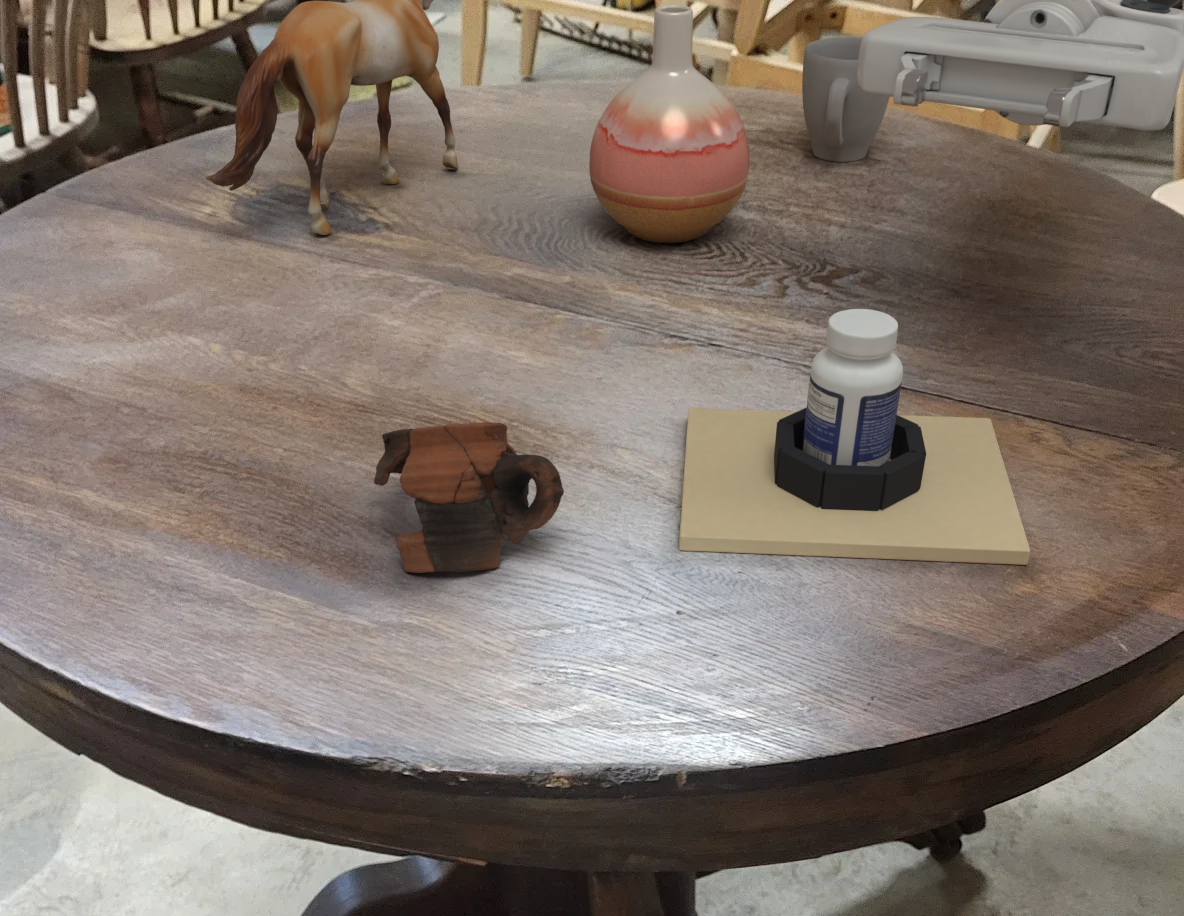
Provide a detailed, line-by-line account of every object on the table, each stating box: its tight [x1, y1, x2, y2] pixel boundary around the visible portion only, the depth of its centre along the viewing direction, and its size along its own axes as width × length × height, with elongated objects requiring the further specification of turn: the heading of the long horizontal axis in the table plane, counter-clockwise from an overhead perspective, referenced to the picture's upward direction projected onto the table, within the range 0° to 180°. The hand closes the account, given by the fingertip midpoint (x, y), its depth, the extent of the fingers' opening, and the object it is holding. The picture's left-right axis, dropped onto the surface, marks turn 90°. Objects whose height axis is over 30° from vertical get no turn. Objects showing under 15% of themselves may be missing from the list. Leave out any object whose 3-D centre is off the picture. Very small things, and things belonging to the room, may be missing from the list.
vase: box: [588, 4, 750, 244], centre depth 109 cm, size 14×14×18 cm
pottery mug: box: [373, 421, 565, 574], centre depth 76 cm, size 12×10×8 cm
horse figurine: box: [204, 0, 459, 236], centre depth 114 cm, size 31×8×21 cm, turn 147°
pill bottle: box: [802, 308, 904, 466], centre depth 77 cm, size 5×5×10 cm
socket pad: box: [678, 407, 1031, 566], centre depth 80 cm, size 20×16×4 cm
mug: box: [801, 36, 891, 163], centre depth 126 cm, size 12×9×10 cm
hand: (979, 101), depth 79 cm, fingers open, 8 cm apart
